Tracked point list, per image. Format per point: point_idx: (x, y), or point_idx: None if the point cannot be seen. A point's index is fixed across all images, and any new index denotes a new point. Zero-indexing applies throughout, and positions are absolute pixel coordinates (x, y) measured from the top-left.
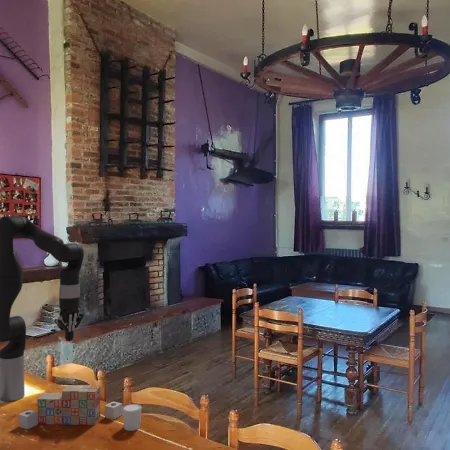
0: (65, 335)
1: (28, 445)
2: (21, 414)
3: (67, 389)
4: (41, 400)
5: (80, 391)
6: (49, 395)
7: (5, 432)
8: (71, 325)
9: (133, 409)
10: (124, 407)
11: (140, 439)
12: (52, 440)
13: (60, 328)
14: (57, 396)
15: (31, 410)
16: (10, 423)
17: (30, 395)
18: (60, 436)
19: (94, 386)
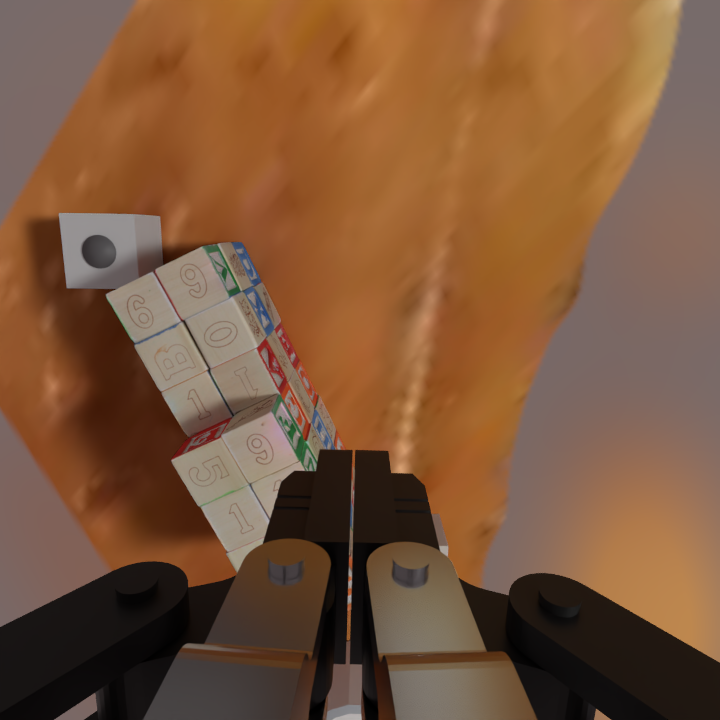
0: (273, 518)
1: (6, 418)
2: (66, 229)
3: (210, 470)
4: (124, 317)
5: (232, 563)
6: (189, 317)
7: (16, 209)
8: (521, 619)
9: None
10: (342, 714)
11: None
12: (93, 472)
13: (42, 640)
14: (204, 378)
15: (135, 234)
16: (92, 136)
17: None
18: (137, 475)
19: (349, 574)
